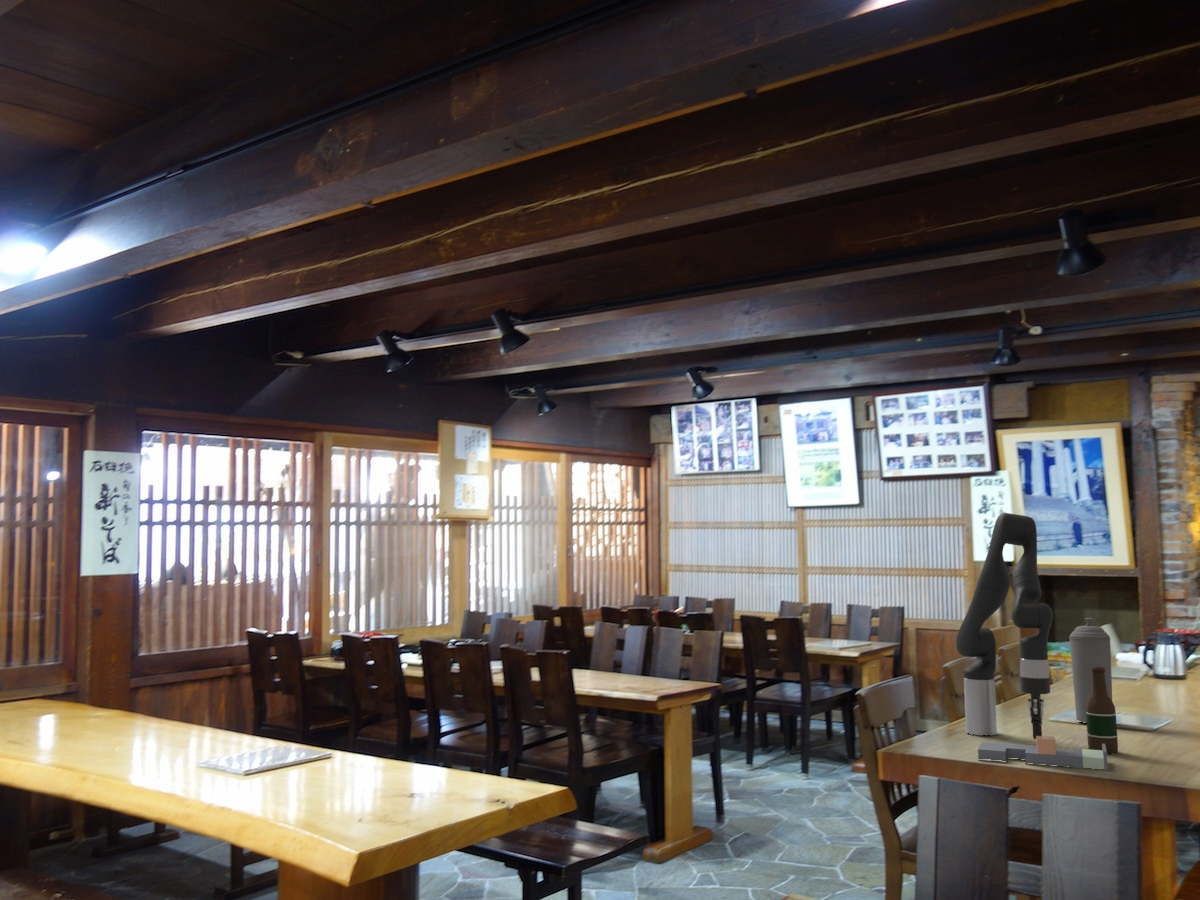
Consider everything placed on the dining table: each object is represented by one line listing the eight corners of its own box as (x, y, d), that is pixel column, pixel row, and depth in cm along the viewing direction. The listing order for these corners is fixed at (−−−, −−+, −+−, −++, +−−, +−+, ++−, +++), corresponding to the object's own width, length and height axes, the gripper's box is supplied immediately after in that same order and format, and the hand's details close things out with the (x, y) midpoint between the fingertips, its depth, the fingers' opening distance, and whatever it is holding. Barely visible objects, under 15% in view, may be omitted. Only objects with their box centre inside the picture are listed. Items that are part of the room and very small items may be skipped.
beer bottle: (1124, 753, 278) (1119, 667, 281) (1099, 754, 277) (1094, 668, 280) (1106, 748, 286) (1101, 665, 289) (1082, 749, 285) (1077, 665, 287)
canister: (1082, 718, 338) (1076, 616, 342) (1122, 723, 329) (1115, 617, 333) (1067, 723, 330) (1061, 618, 334) (1107, 727, 321) (1100, 619, 324)
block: (1036, 750, 268) (1035, 735, 269) (1054, 751, 267) (1053, 736, 267) (1037, 753, 264) (1037, 738, 264) (1056, 754, 262) (1055, 739, 263)
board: (981, 752, 281) (981, 735, 281) (1106, 761, 267) (1105, 743, 268) (978, 760, 270) (977, 742, 271) (1107, 770, 257) (1106, 751, 257)
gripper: (1048, 678, 265) (1051, 744, 264) (1050, 673, 277) (1053, 735, 275) (1018, 677, 269) (1021, 742, 267) (1021, 671, 280) (1024, 733, 279)
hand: (1037, 738), depth 271 cm, fingers closed
